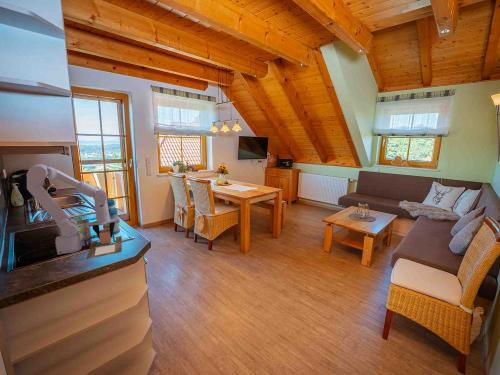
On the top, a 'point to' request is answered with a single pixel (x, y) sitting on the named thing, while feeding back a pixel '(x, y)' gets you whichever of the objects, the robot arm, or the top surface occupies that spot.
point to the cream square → (104, 250)
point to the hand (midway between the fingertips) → (105, 237)
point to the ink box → (82, 228)
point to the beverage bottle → (112, 216)
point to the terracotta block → (105, 236)
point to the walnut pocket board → (94, 245)
